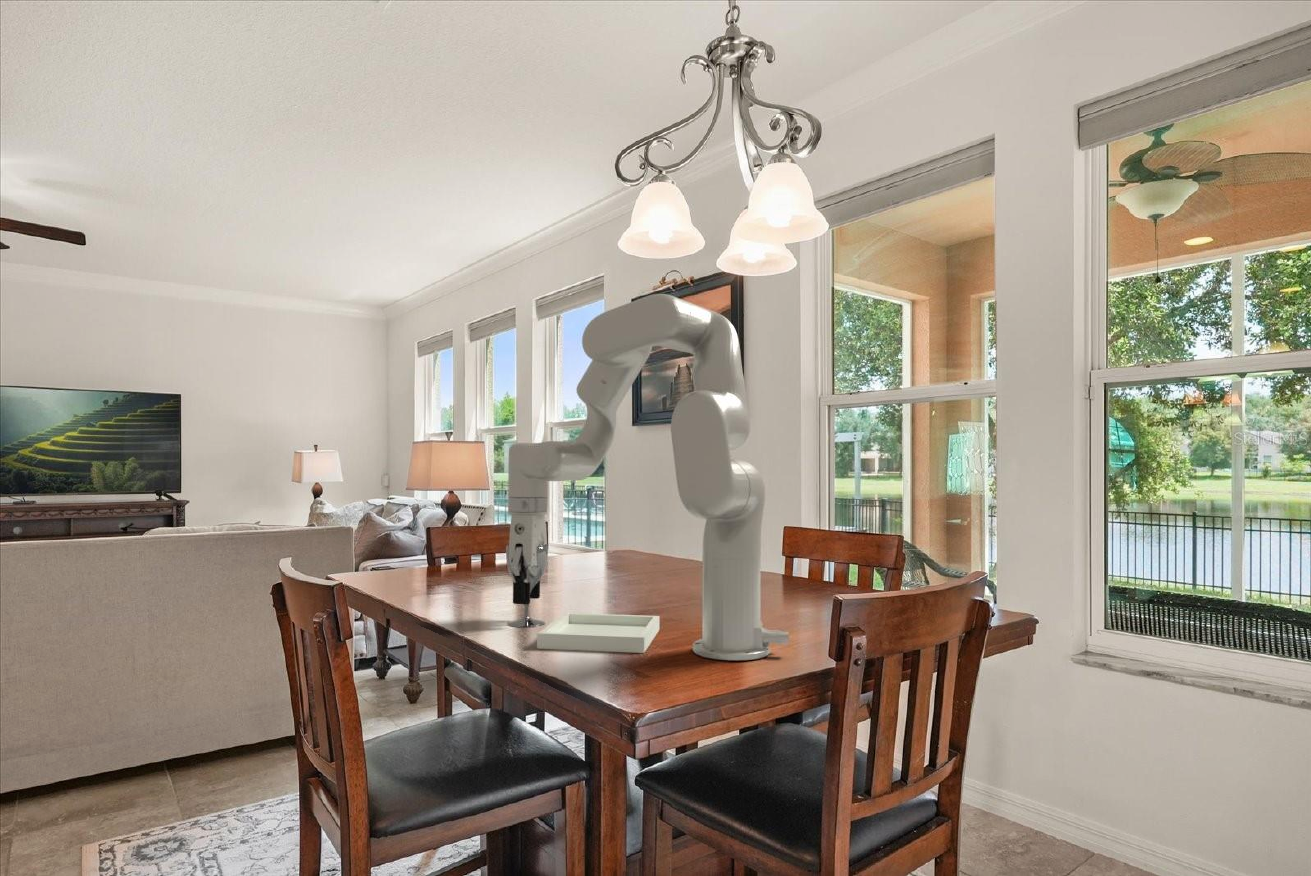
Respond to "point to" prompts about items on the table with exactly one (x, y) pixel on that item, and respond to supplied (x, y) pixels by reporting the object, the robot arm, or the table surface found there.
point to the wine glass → (534, 577)
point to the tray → (599, 633)
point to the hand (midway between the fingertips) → (526, 600)
